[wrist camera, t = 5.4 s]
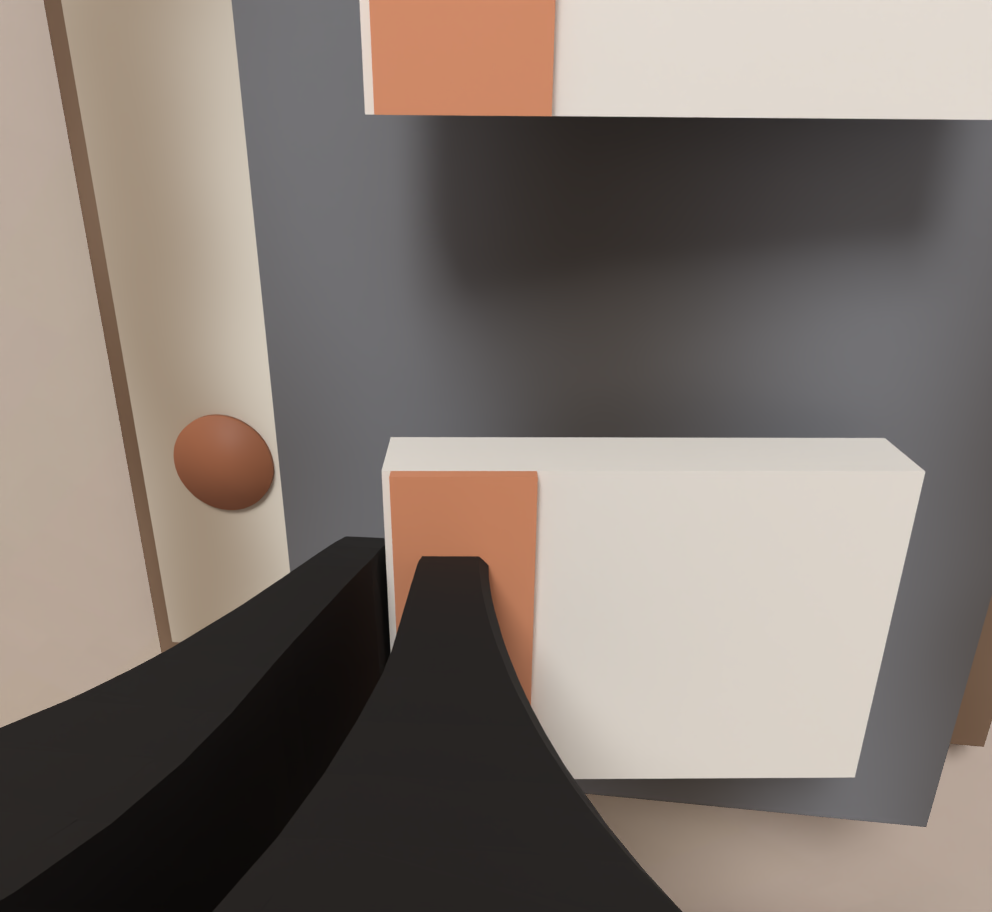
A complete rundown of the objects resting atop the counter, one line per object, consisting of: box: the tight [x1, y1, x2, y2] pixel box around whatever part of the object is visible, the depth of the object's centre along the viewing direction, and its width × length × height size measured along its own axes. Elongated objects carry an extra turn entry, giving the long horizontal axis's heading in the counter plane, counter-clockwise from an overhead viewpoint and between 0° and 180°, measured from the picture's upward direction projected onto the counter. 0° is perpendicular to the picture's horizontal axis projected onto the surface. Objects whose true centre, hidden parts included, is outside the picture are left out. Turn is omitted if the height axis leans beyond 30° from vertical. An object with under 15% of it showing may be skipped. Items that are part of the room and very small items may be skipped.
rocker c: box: [382, 437, 925, 779], centre depth 11 cm, size 6×4×2 cm
